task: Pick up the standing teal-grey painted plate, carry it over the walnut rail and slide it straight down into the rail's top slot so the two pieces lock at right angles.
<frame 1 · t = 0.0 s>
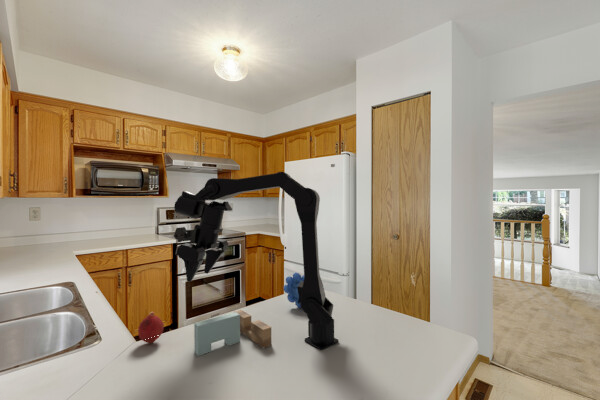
hand: (198, 276, 82), 15 cm above the worktop, tool pointing down, fingers open, 9 cm apart
onion: (151, 344, 75), on the worktop
cross plate: (218, 346, 73), on the worktop
grapes: (300, 309, 99), on the worktop
slot rail: (251, 335, 79), on the worktop
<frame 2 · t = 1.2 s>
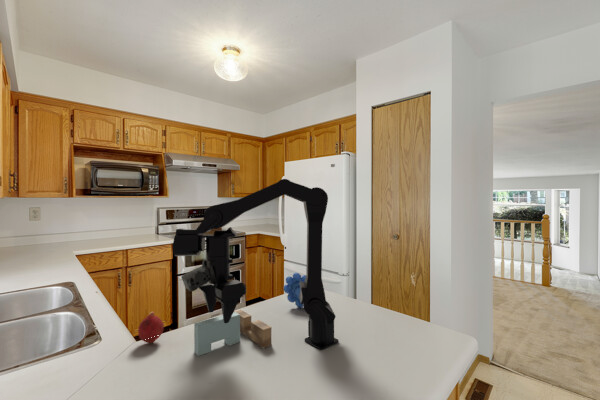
hand: (218, 317, 73), 7 cm above the worktop, tool pointing down, fingers open, 9 cm apart
nothing on the worktop moved.
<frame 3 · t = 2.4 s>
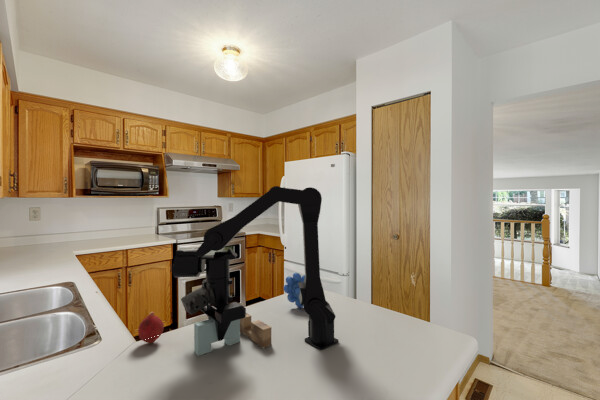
hand: (218, 338, 73), 2 cm above the worktop, tool pointing down, fingers closed on cross plate, 2 cm apart
cross plate: (218, 346, 73), on the worktop, touching gripper
everything else where it was.
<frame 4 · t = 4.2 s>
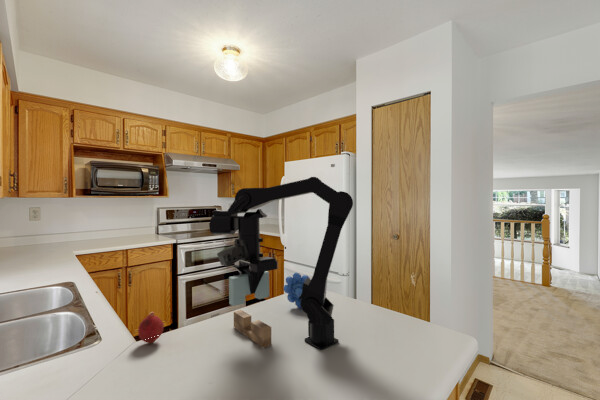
hand: (250, 292, 79), 12 cm above the worktop, tool pointing down, fingers closed on cross plate, 2 cm apart
cross plate: (250, 300, 79), point 10 cm above the worktop, touching gripper
everything else where it was.
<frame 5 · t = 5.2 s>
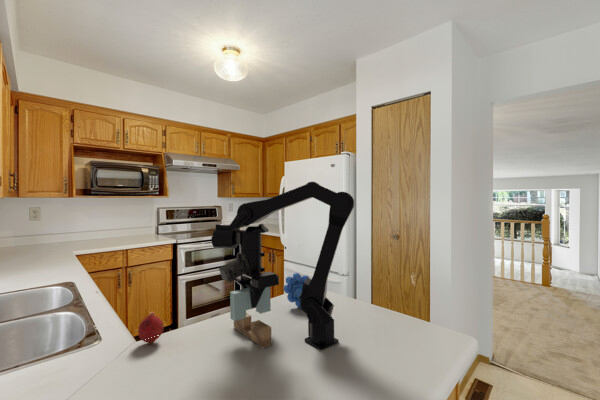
hand: (251, 306, 79), 8 cm above the worktop, tool pointing down, fingers closed on cross plate, 2 cm apart
cross plate: (251, 314, 79), point 6 cm above the worktop, touching gripper
everything else where it was.
when the fingers open (5 cm above the worktop, at t = 6.0 s): cross plate drops 3 cm, on the worktop.
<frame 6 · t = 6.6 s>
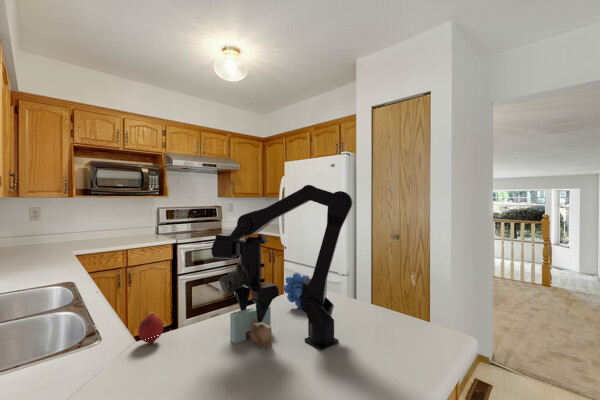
hand: (251, 317, 79), 5 cm above the worktop, tool pointing down, fingers open, 9 cm apart
cross plate: (251, 335, 79), on the worktop
everything else where it was.
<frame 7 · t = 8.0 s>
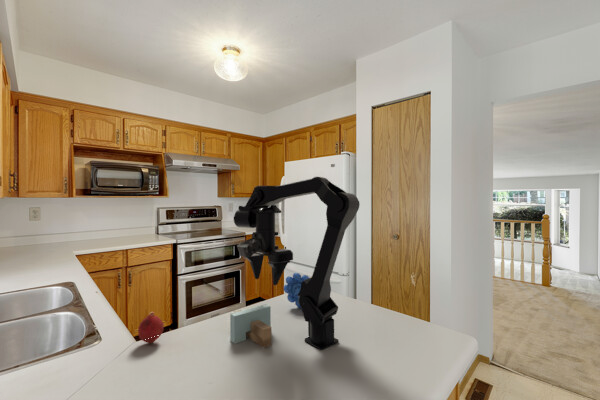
hand: (265, 281, 85), 13 cm above the worktop, tool pointing down, fingers open, 9 cm apart
nothing on the worktop moved.
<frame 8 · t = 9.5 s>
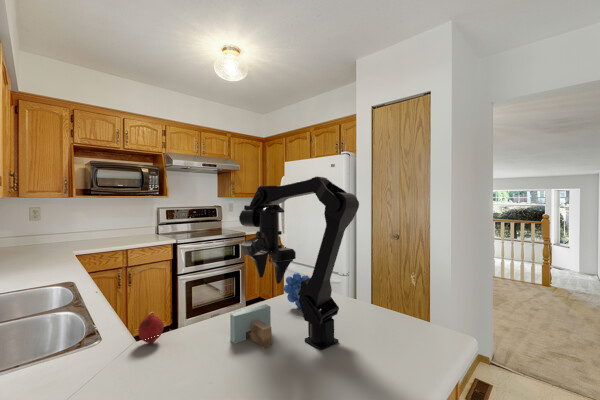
hand: (269, 280, 87), 13 cm above the worktop, tool pointing down, fingers open, 9 cm apart
nothing on the worktop moved.
at the end: cross plate 0.1 cm off-centre on the slot rail, point 0.0 cm above the slot rail's base; cross plate tilted 0°; the gripper is holding nothing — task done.
